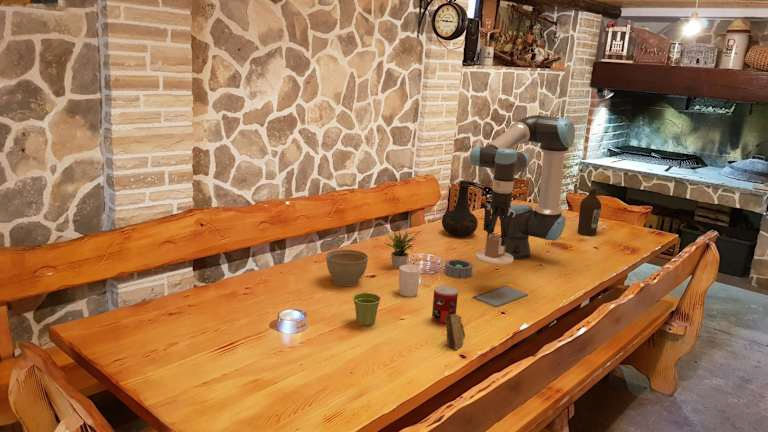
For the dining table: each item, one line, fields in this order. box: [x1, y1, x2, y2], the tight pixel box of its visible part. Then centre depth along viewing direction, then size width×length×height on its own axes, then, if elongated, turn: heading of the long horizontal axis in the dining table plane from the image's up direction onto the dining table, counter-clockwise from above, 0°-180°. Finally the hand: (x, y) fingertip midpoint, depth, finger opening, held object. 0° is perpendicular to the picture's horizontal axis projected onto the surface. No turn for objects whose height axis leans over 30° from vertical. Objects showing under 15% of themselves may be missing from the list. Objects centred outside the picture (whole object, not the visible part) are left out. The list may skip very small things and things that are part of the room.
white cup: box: [398, 264, 422, 298], centre depth 232 cm, size 8×8×10 cm
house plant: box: [385, 230, 418, 269], centre depth 256 cm, size 14×14×16 cm
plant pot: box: [352, 292, 382, 327], centre depth 205 cm, size 9×9×9 cm
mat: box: [471, 285, 529, 308], centre depth 238 cm, size 20×20×1 cm
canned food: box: [431, 285, 459, 325], centre depth 210 cm, size 8×8×11 cm
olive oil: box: [577, 186, 602, 237], centre depth 326 cm, size 11×11×25 cm
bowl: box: [444, 259, 474, 279], centre depth 254 cm, size 11×11×5 cm
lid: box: [475, 234, 514, 266], centre depth 234 cm, size 14×14×8 cm
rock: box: [445, 313, 466, 352], centre depth 195 cm, size 11×9×10 cm
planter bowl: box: [325, 249, 369, 287], centre depth 239 cm, size 16×16×11 cm
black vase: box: [441, 179, 479, 238], centre depth 309 cm, size 18×18×28 cm
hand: (495, 251), depth 234 cm, fingers closed on lid, 4 cm apart
